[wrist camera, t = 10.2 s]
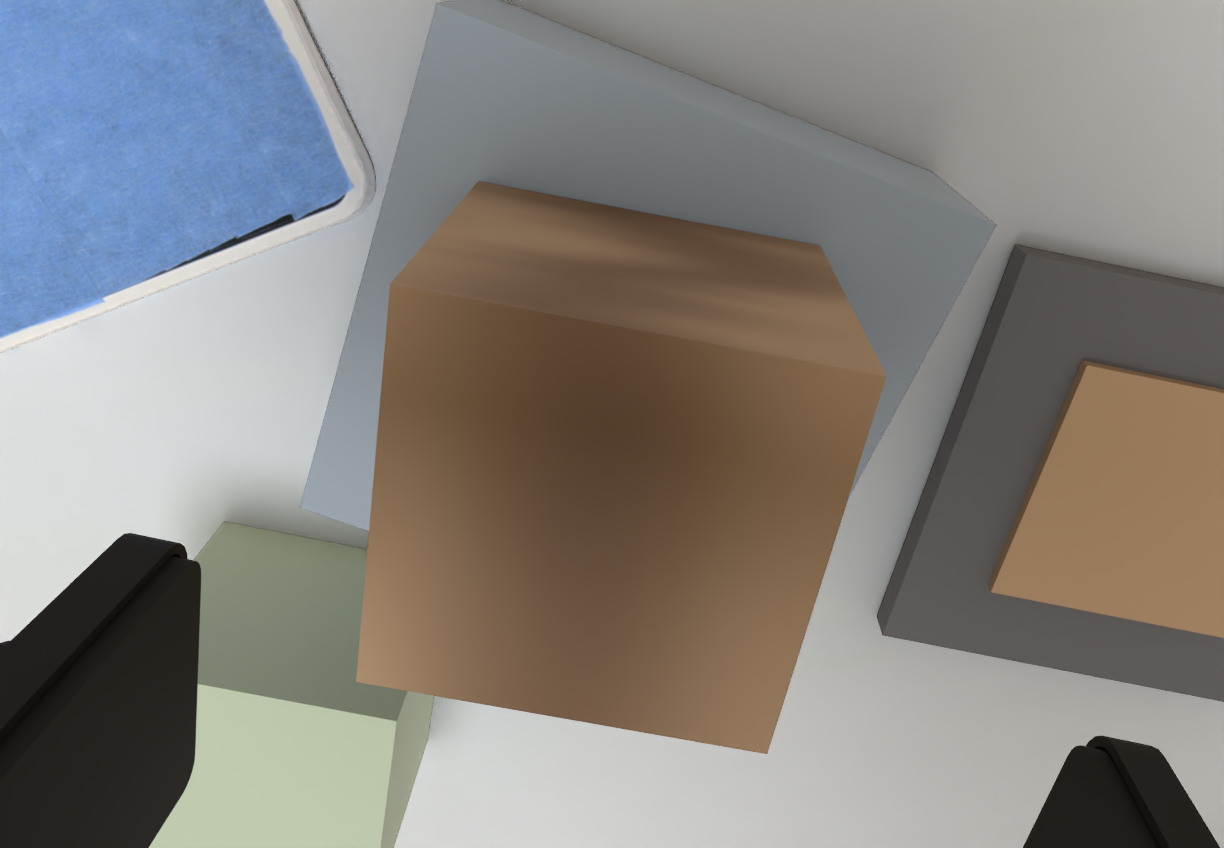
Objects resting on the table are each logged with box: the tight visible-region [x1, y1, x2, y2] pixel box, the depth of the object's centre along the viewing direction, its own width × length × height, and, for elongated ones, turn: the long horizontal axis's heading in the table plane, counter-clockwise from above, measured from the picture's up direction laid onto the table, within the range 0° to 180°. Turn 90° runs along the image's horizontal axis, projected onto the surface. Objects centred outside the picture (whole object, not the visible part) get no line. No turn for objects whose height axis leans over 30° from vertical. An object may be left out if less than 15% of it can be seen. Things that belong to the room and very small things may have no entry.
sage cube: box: [149, 522, 434, 848], centre depth 25 cm, size 6×6×6 cm
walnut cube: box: [356, 181, 887, 754], centre depth 16 cm, size 6×6×6 cm
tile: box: [877, 245, 1224, 702], centre depth 24 cm, size 10×10×1 cm
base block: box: [300, 0, 996, 531], centre depth 21 cm, size 10×10×5 cm
